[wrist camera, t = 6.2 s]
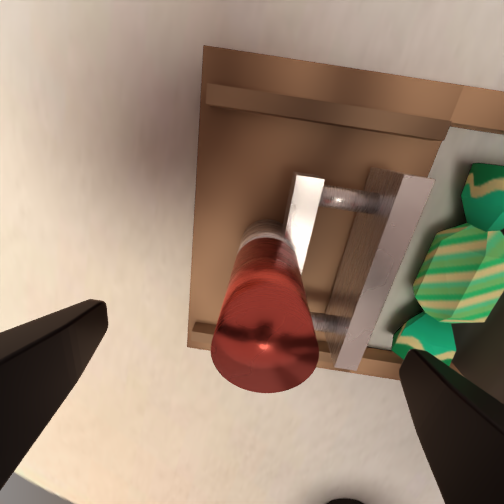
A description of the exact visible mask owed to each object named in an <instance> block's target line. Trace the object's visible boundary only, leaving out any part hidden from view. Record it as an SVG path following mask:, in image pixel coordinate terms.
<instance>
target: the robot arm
mask: <svg viewBox="0 0 504 504" xmlns="http://www.w3.org/2000/svg"><path fill="white" fill-rule="evenodd" d="M107 328H108V316H107V306H106V303H105V302H104V301H100V300H94V299H89V300H86V301H83V302H81V303H78V304H75V305H73V306H70V307H67V308H65V309H62V310H59V311H57V312H54V313H51V314H49V315H46V316H43V317H41V318H38V319H35V320H33V321H30V322H28V323H25V324H22V325H20V326H17V327H14V328H12V329H9V330H6V331H4V332H1V333H0V490H1V489H2V487H3V486H4V485H5V483H6V482H7V480H8V479H9V478H10V476H11V475H12V473H13V472H14V471H15V469H16V468H17V466H18V465H19V463H20V462H21V461H22V459H23V458H24V456H25V455H26V454H27V452H28V451H29V449H30V448H31V447H32V445H33V444H34V442H35V441H36V439H37V438H38V437H39V435H40V434H41V432H42V431H43V430H44V428H45V427H46V425H47V424H48V423H49V421H50V420H51V418H52V417H53V415H54V414H55V413H56V411H57V410H58V408H59V407H60V406H61V404H62V403H63V401H64V400H65V399H66V397H67V396H68V394H69V393H70V391H71V390H72V389H73V387H74V386H75V384H76V383H77V381H78V380H79V378H80V376H81V375H82V373H83V371H84V370H85V368H86V366H87V364H88V363H89V361H90V359H91V357H92V356H93V354H94V352H95V350H96V349H97V347H98V345H99V344H100V342H101V340H102V338H103V337H104V335H105V333H106V331H107ZM399 377H400V381H401V384H402V387H403V391H404V394H405V397H406V400H407V404H408V407H409V410H410V414H411V417H412V420H413V423H414V426H415V429H416V432H417V435H418V437H419V440H420V443H421V445H422V448H423V450H424V453H425V455H426V458H427V460H428V462H429V465H430V467H431V470H432V472H433V475H434V477H435V480H436V482H437V485H438V487H439V490H440V492H441V494H442V497H443V499H444V502H445V504H504V404H503V403H501V402H500V401H498V400H497V399H495V398H494V397H493V396H491V395H490V394H488V393H487V392H485V391H484V390H482V389H481V388H480V387H478V386H477V385H475V384H474V383H472V382H471V381H469V380H468V379H467V378H465V377H464V376H462V375H461V374H459V373H458V372H457V371H455V370H454V369H452V368H451V367H449V366H448V365H446V364H445V363H444V362H442V361H441V360H439V359H438V358H436V357H435V356H433V355H432V354H431V353H429V352H428V351H425V350H420V349H410V350H409V351H408V352H407V354H406V356H405V358H404V360H403V362H402V364H401V366H400V369H399Z"/></svg>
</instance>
